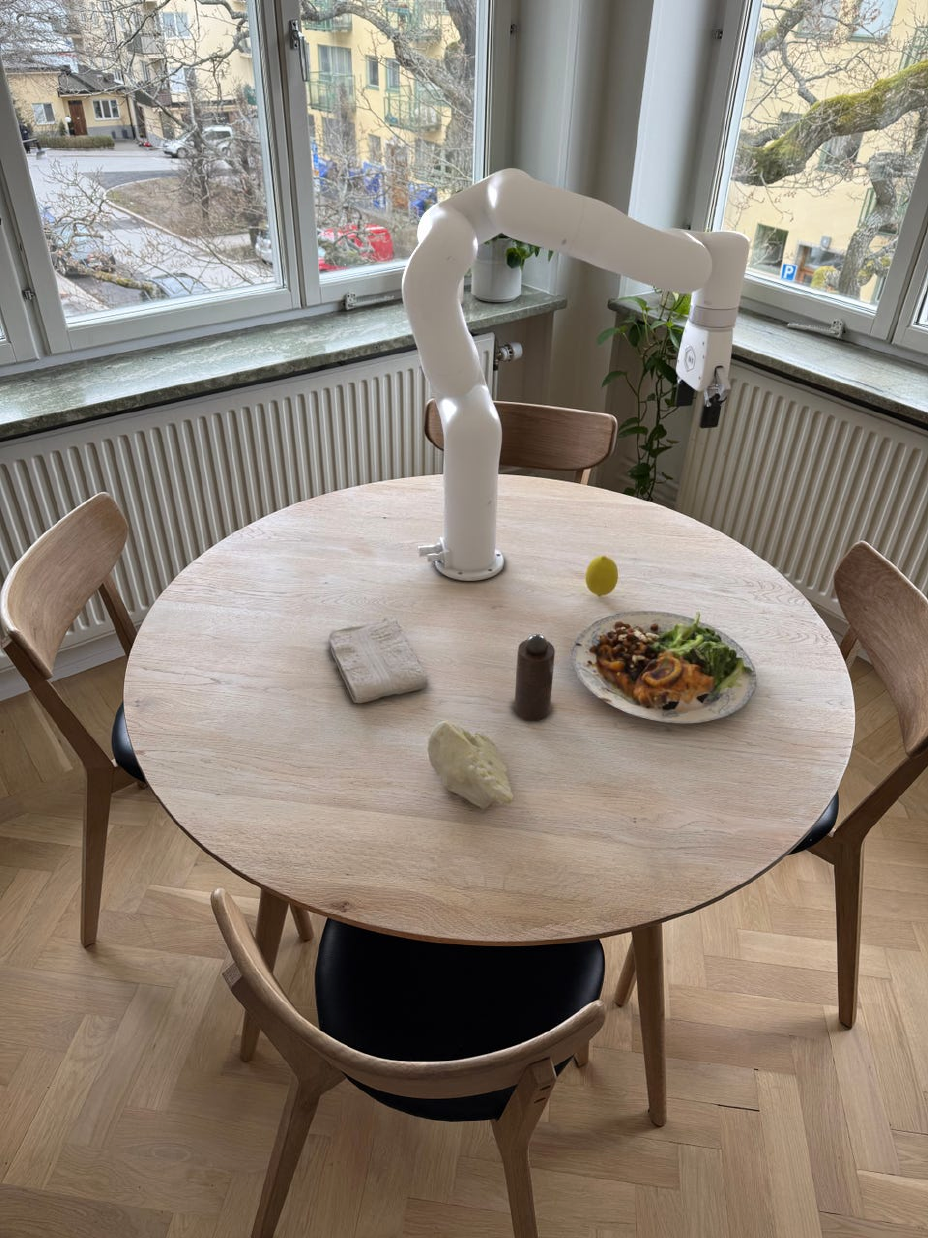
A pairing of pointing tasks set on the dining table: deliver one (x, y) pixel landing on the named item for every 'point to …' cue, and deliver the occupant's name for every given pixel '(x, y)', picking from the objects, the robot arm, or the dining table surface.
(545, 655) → the pepper mill
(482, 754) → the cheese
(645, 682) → the plate of food
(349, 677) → the washcloth
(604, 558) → the lemon
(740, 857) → the dining table surface
